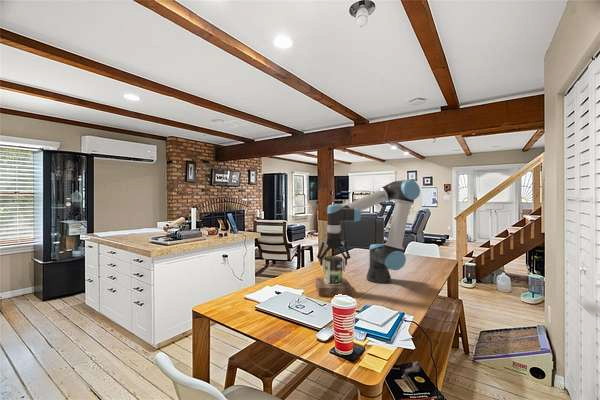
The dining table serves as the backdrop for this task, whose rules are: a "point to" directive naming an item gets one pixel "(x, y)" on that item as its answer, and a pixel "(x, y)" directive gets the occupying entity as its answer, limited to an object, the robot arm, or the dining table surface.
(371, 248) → the robot arm
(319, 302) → the dining table surface
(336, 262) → the coffee can
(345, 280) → the walnut block
